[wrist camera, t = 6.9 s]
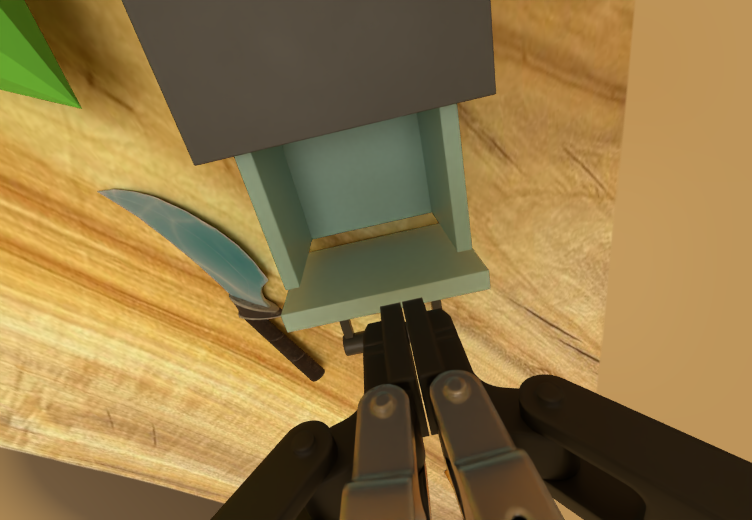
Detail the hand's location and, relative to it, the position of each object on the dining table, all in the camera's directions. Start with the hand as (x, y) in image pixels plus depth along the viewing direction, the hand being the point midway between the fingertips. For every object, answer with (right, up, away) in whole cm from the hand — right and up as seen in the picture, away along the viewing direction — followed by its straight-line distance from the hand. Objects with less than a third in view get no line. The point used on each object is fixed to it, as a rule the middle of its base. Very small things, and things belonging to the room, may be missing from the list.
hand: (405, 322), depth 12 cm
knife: (-12, +1, +15) cm, 19 cm away
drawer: (-2, +7, +12) cm, 14 cm away
